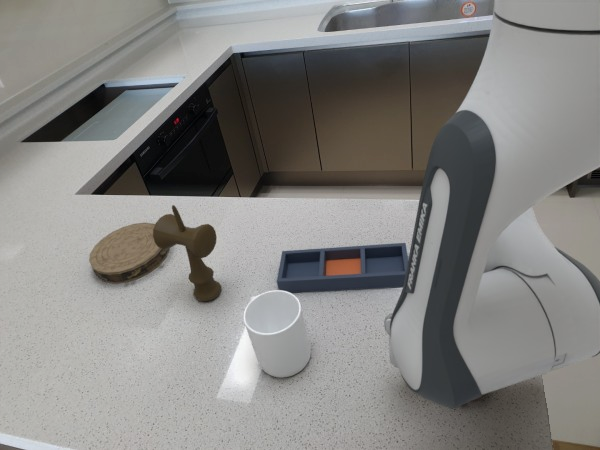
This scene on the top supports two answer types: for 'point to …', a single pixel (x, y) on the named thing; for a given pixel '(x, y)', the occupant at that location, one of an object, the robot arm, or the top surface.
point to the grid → (343, 268)
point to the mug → (278, 332)
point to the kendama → (190, 250)
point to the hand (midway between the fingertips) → (468, 378)
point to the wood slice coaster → (127, 254)
